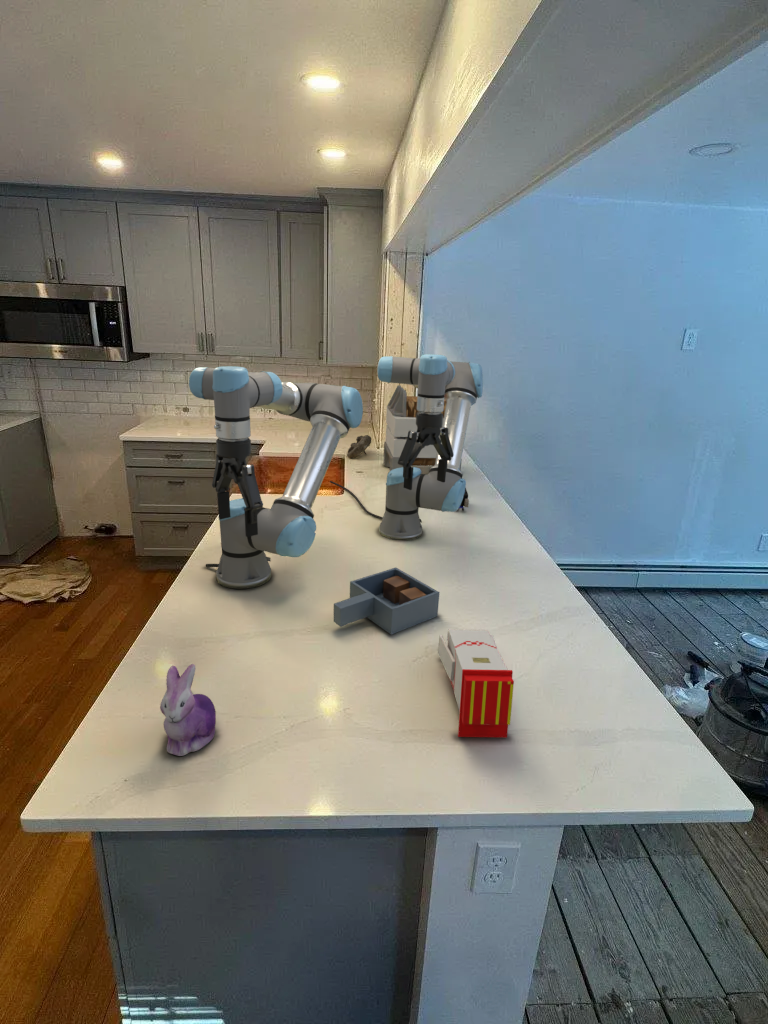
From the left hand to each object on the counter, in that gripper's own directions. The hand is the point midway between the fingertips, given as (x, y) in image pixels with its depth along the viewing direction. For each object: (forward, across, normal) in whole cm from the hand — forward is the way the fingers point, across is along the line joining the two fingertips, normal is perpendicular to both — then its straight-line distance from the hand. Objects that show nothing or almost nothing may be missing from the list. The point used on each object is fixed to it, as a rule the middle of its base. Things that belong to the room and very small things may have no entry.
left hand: (237, 526), depth 134 cm
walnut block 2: (+24, +24, +36) cm, 50 cm away
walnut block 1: (+24, +16, +37) cm, 47 cm away
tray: (+25, +20, +28) cm, 42 cm away
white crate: (+25, -72, +132) cm, 152 cm away
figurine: (+25, +33, -27) cm, 49 cm away
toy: (+25, +55, +24) cm, 65 cm away
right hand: (-2, +5, +57) cm, 57 cm away
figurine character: (+25, -27, +110) cm, 116 cm away
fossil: (+25, -116, +129) cm, 175 cm away
